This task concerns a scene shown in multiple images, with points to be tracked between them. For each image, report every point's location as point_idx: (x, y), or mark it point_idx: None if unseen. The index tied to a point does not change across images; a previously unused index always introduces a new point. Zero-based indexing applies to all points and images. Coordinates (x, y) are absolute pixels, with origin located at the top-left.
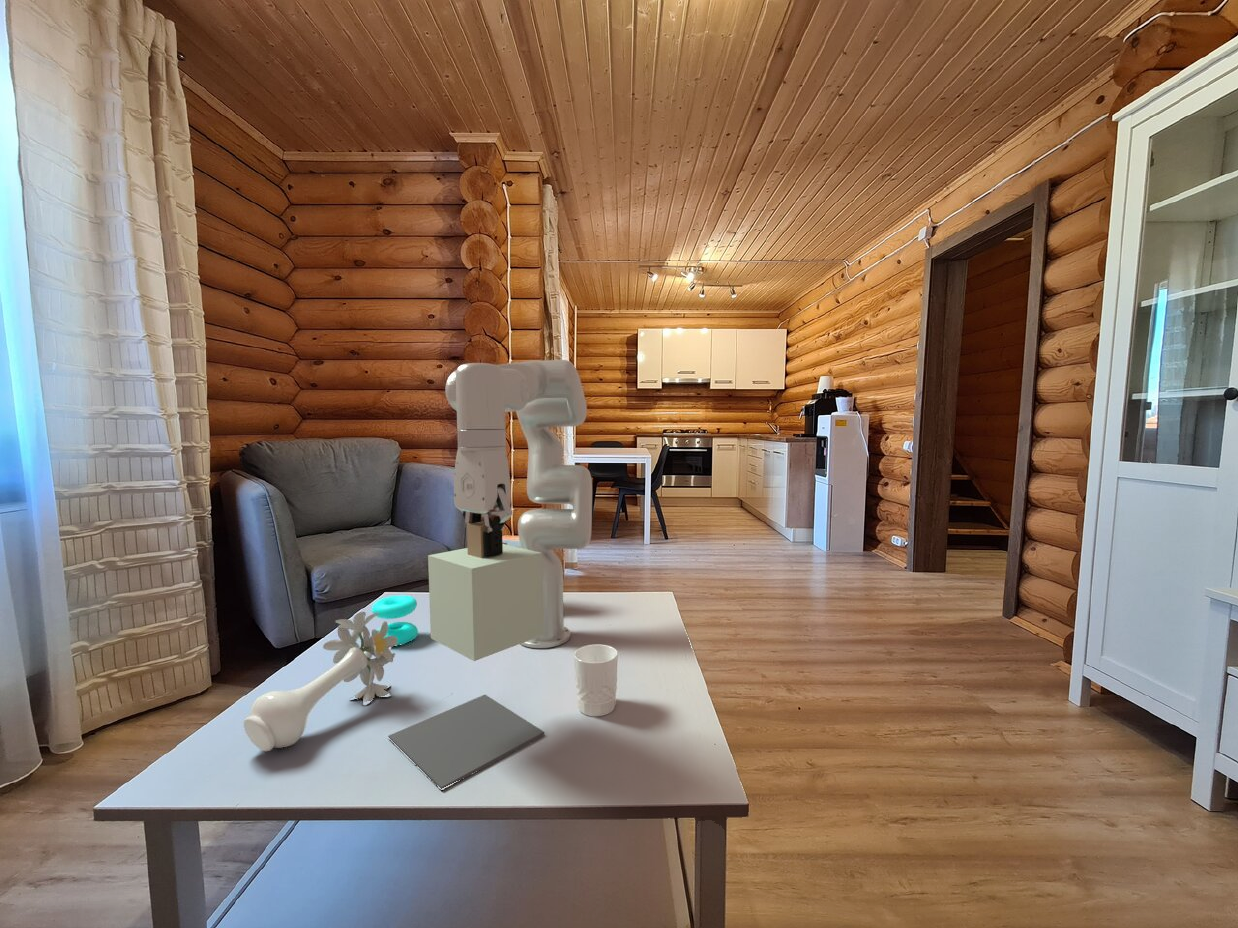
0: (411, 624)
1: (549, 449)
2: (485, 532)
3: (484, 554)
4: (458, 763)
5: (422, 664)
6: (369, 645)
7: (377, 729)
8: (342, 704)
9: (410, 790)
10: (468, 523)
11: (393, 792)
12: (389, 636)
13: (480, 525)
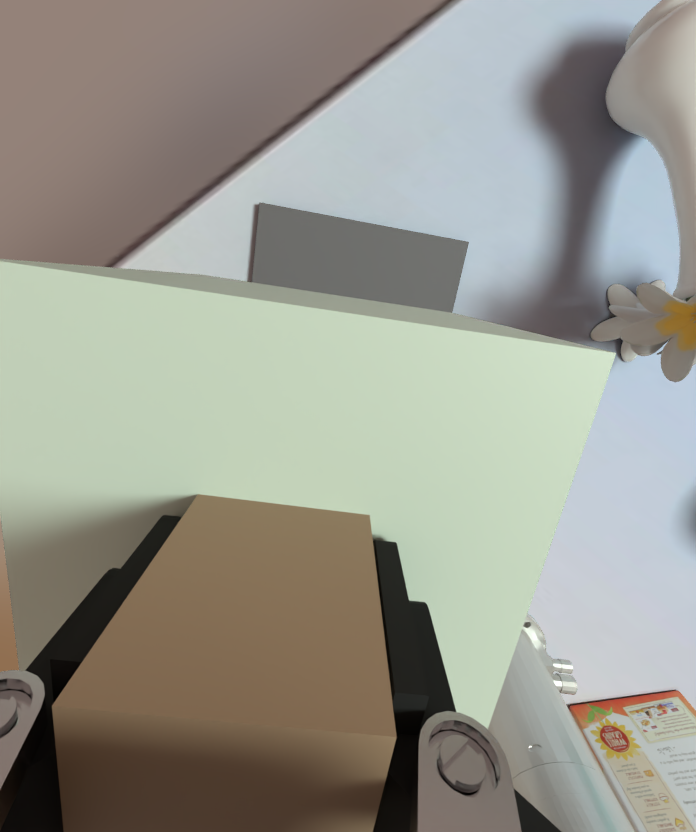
0: None
1: None
2: (54, 665)
3: (174, 520)
4: (288, 262)
5: (638, 453)
6: None
7: (513, 250)
8: (660, 263)
9: (305, 174)
10: (429, 773)
11: (324, 152)
12: (692, 361)
13: (147, 756)
